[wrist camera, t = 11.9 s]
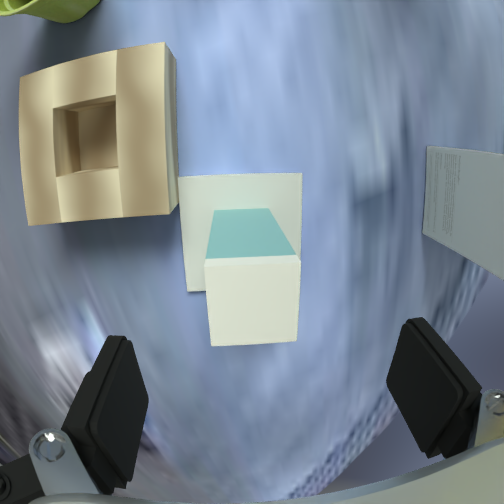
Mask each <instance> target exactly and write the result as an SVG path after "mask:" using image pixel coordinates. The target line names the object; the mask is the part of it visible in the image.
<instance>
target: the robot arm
mask: <svg viewBox="0 0 504 504" xmlns="http://www.w3.org/2000/svg"><path fill="white" fill-rule="evenodd" d="M386 383H387V387H388V389H389V391H390V393H391V394H392V396H393V398H394V400H395V402H396V404H397V406H398V408H399V410H400V411H401V413H402V415H403V417H404V419H405V421H406V423H407V425H408V427H409V429H410V431H411V433H412V434H413V437H414V438H415V441H416V442H417V444H418V446H419V448H420V450H421V451H422V452H425V453H426V456H427V458H428V459H429V458H431V457H434V456H437V455H439V454H440V453H442V455H443V457H444V458H443V460H442V461H440V462H437V463H434V464H432V465H429V466H426V467H424V468H421V469H418V470H415V471H412V472H409V473H406V474H403V475H400V476H397V477H394V478H390V479H387V480H383V481H380V482H376V483H372V484H368V485H364V486H360V487H357V488H352V489H347V490H343V491H338V492H333V493H327V494H322V495H316V496H310V497H303V498H295V499H287V500H278V501H267V502H253V503H228V504H504V392H503V391H501V390H496V389H492V390H488V391H486V392H485V393H484V394H483V395H482V394H481V393H480V391H481V389H482V387H481V386H480V384H479V383H478V382H477V381H476V380H475V378H474V377H473V376H472V375H471V373H470V372H469V371H468V369H467V368H466V367H465V366H464V364H463V363H462V362H461V361H460V360H459V358H458V357H457V356H456V355H455V354H454V352H453V351H452V350H451V349H450V348H449V346H448V345H447V344H446V343H445V342H444V341H443V339H442V338H441V337H440V336H439V335H438V334H437V333H436V331H435V330H434V329H433V328H432V327H431V326H430V325H429V323H428V322H427V321H426V320H425V319H424V318H423V317H419V318H413V319H408V320H407V321H406V323H405V324H403V325H402V328H401V332H400V336H399V339H398V343H397V346H396V350H395V353H394V356H393V360H392V363H391V366H390V369H389V372H388V375H387V379H386ZM148 401H149V400H148V394H147V391H146V388H145V385H144V381H143V378H142V375H141V372H140V369H139V365H138V362H137V358H136V355H135V351H134V348H133V344H132V342H131V341H130V340H127V338H126V337H125V336H112V335H110V336H108V337H107V339H106V341H105V343H104V345H103V347H102V349H101V351H100V353H99V355H98V357H97V359H96V361H95V363H94V365H93V367H92V369H91V371H89V372H88V373H87V374H86V375H85V377H84V379H83V381H82V383H81V385H80V388H79V390H78V392H77V394H76V396H75V398H74V401H73V403H72V405H71V407H70V409H69V412H68V414H67V416H66V419H65V421H64V423H63V425H62V428H61V430H59V429H56V428H49V429H45V430H42V431H40V432H38V433H37V434H36V435H35V436H34V437H33V438H32V440H31V442H30V446H29V452H30V454H27V455H25V456H23V457H21V458H19V459H16V460H14V461H12V462H10V463H7V464H5V465H3V466H0V504H206V503H181V502H165V501H153V500H143V499H135V498H128V497H118V496H112V493H114V488H115V487H117V488H123V489H126V484H127V481H129V482H130V481H131V480H132V478H133V473H134V468H135V463H136V458H137V453H138V448H139V443H140V439H141V434H142V430H143V425H144V421H145V416H146V412H147V408H148Z"/></svg>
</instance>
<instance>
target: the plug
mask: <svg viewBox="0 0 504 504" xmlns="http://www.w3.org/2000/svg"><path fill="white" fill-rule="evenodd" d="M204 273H205V285H206V296H207V307H208V318H209V327H210V337H211V346H229V345H249V344H265V343H279V342H292V341H297V330H298V314H299V296H300V275H301V262H300V260H299V258H298V256H297V255H296V253H295V251H294V250H293V248H292V246H291V245H290V243H289V241H288V240H287V238H286V236H285V235H284V233H283V231H282V230H281V228H280V226H279V225H278V223H277V221H276V220H275V218H274V216H273V215H272V213H271V211H270V210H269V208H258V209H230V210H214V214H213V219H212V225H211V230H210V236H209V241H208V247H207V252H206V258H205V264H204Z"/></svg>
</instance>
